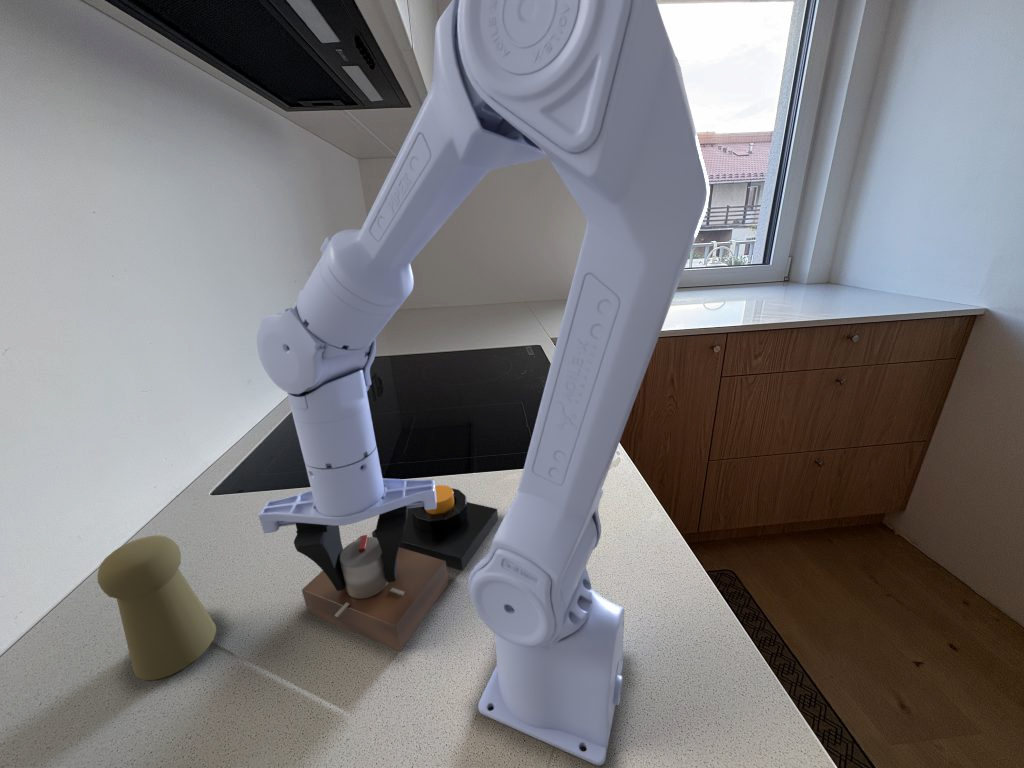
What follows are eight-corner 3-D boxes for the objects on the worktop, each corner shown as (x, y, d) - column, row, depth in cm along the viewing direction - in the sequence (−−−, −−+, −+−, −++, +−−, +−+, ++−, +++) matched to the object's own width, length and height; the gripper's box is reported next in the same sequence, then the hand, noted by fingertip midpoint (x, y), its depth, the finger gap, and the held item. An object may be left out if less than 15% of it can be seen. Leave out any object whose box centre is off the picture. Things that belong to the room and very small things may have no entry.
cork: (116, 687, 35) (61, 584, 31) (158, 625, 40) (116, 531, 37) (196, 671, 36) (153, 568, 32) (227, 612, 41) (193, 519, 38)
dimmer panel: (448, 583, 43) (445, 559, 42) (392, 663, 35) (386, 635, 34) (365, 557, 48) (360, 534, 46) (298, 623, 40) (291, 597, 39)
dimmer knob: (388, 594, 39) (381, 560, 37) (342, 602, 38) (334, 568, 37) (391, 563, 42) (386, 531, 41) (350, 570, 42) (343, 538, 40)
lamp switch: (498, 520, 53) (496, 496, 51) (462, 571, 45) (459, 544, 44) (418, 501, 57) (415, 478, 56) (373, 544, 49) (368, 519, 48)
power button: (460, 500, 52) (458, 488, 51) (444, 518, 49) (442, 505, 48) (435, 494, 53) (433, 482, 52) (418, 511, 50) (416, 499, 49)
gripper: (429, 422, 40) (444, 538, 45) (267, 440, 38) (300, 560, 43) (427, 458, 34) (445, 589, 38) (232, 483, 32) (275, 618, 36)
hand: (368, 578), depth 40 cm, fingers closed on dimmer knob, 4 cm apart
